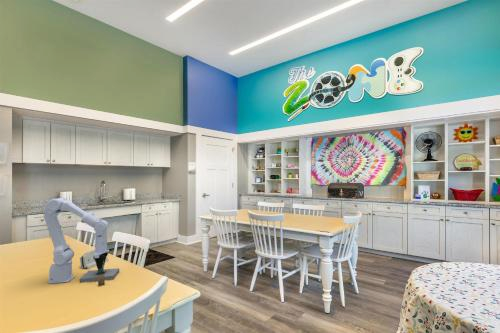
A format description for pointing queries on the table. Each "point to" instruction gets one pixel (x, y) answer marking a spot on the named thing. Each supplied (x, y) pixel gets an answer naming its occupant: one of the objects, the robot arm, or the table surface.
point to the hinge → (88, 260)
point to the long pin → (101, 271)
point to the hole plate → (93, 275)
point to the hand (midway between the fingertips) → (100, 267)
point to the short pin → (101, 280)
